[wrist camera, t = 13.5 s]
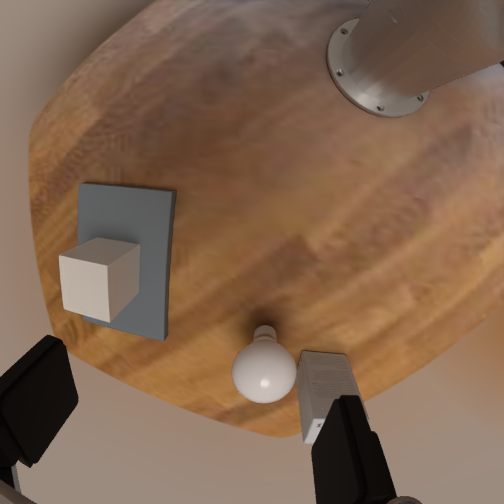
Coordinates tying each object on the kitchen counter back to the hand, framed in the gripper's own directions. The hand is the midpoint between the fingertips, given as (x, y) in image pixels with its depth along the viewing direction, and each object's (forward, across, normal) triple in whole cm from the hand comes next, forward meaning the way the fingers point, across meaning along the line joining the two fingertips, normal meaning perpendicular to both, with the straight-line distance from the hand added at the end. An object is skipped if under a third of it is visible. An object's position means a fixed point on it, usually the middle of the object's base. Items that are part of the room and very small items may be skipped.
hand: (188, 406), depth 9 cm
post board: (+24, +14, +5) cm, 28 cm away
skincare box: (+24, -12, +15) cm, 31 cm away
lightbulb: (+24, -4, +11) cm, 27 cm away
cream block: (+23, +14, +5) cm, 27 cm away
